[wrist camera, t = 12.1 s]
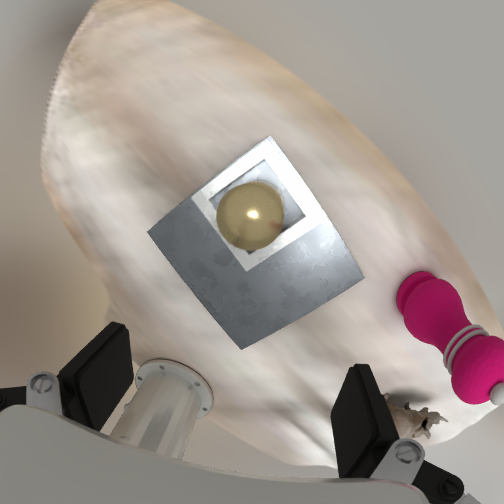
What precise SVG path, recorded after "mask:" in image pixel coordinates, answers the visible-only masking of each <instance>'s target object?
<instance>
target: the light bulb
mask: <svg viewBox="0 0 504 504" xmlns="http://www.w3.org/2000/svg"><path fill="white" fill-rule="evenodd" d="M216 220H217V225H218V228H219V231H220V233H221V234H222V236H223V237H224V238H225V240H226V241H228V242H229V243H230V244H231V245H233V246H235V247H237V248H239V249H243V250H259V249H262V248H264V247H267V246H268V245H270V244H271V243H272V242H273V241H274V240H275V239H276V238H277V237H278V236H279V234H280V232H281V230H282V227H283V222H284V201H283V197H282V194H281V193H280V191H279V190H278V188H277V187H276V186H274V185H273V184H271V183H269V182H267V181H263V180H255V181H251V182H248V183H245V184H241V185H238V186H236V187H234V188H232V189H230V190H229V191H228V192H227V193H226V194H225V195H224V196H223V197H222V199H221V200H220V202H219V205H218V208H217V213H216Z"/></svg>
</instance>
